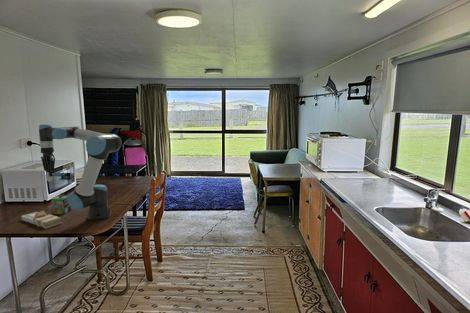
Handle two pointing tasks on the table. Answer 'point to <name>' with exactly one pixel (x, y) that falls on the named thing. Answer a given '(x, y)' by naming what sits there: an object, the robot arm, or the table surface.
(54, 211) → the chalk box
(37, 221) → the birch board
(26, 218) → the tray
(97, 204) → the robot arm
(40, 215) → the salmon tan block
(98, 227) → the table surface
